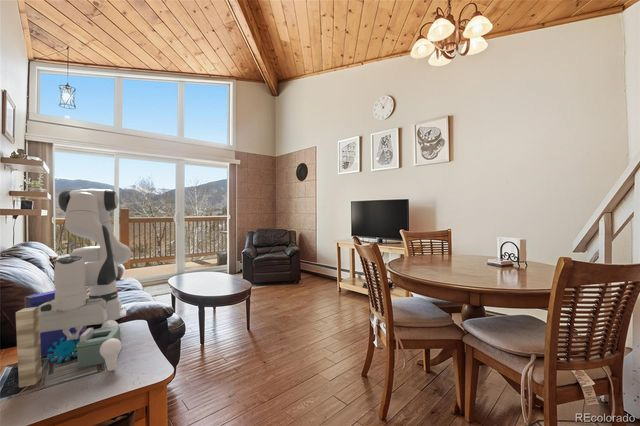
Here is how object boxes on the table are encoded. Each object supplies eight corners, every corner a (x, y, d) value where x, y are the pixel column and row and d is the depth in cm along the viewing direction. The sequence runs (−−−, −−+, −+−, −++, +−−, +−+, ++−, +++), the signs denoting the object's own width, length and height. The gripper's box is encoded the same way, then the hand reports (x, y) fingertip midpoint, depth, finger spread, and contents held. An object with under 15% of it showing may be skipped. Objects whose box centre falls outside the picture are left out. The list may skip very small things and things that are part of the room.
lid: (89, 334, 110) (89, 326, 110) (120, 329, 114) (119, 321, 114) (77, 347, 99) (76, 338, 99) (111, 341, 103) (110, 333, 103)
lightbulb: (124, 370, 96) (122, 338, 96) (101, 378, 92) (100, 345, 92) (120, 364, 101) (119, 333, 101) (99, 371, 96) (98, 339, 96)
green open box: (90, 352, 110) (89, 335, 110) (120, 347, 114) (120, 330, 114) (77, 367, 99) (77, 348, 99) (111, 361, 103) (111, 342, 103)
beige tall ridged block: (26, 380, 92) (23, 308, 92) (42, 377, 94) (38, 306, 94) (18, 387, 89) (15, 312, 89) (35, 384, 90) (32, 310, 90)
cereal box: (81, 338, 124) (78, 284, 124) (87, 340, 122) (84, 285, 122) (27, 357, 108) (24, 296, 108) (32, 360, 106) (29, 297, 106)
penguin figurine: (116, 316, 125) (124, 325, 117) (117, 335, 125) (125, 345, 118) (99, 321, 120) (106, 330, 112) (99, 340, 121) (106, 351, 113)
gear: (40, 363, 101) (54, 335, 107) (45, 369, 104) (58, 341, 111) (78, 360, 104) (88, 333, 111) (82, 366, 108) (92, 340, 115)
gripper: (108, 294, 109) (110, 330, 109) (40, 303, 101) (42, 341, 101) (103, 299, 103) (105, 336, 103) (30, 308, 95) (32, 349, 95)
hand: (73, 339), depth 102 cm, fingers closed
